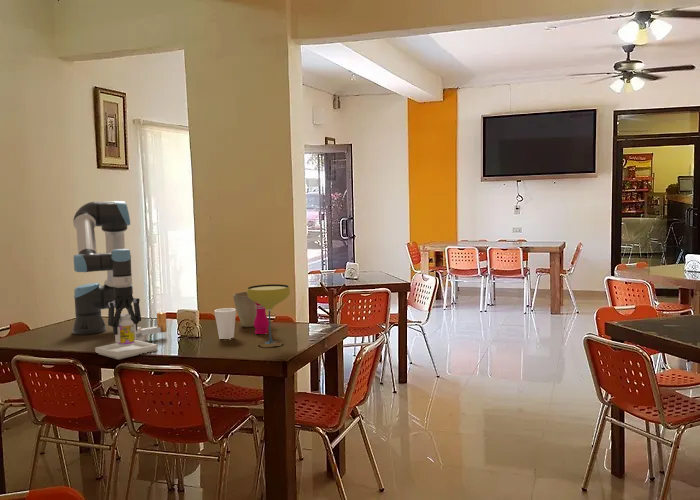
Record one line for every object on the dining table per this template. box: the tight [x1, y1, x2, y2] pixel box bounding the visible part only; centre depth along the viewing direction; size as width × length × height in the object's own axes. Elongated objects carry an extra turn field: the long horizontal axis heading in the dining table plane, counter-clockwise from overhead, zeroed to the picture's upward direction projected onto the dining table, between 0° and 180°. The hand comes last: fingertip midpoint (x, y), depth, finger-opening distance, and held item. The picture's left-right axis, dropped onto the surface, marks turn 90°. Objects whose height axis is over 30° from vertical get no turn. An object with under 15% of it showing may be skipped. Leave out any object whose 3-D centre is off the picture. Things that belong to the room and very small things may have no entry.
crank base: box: [134, 335, 149, 343], centre depth 294 cm, size 9×9×4 cm
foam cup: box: [214, 307, 237, 340], centre depth 297 cm, size 10×9×13 cm
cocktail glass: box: [246, 283, 291, 344], centre depth 281 cm, size 18×18×25 cm
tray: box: [94, 340, 158, 360], centre depth 276 cm, size 18×18×2 cm
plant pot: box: [232, 291, 257, 328], centre depth 326 cm, size 15×15×16 cm
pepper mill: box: [253, 302, 269, 335], centre depth 305 cm, size 7×7×20 cm
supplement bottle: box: [117, 313, 134, 347], centre depth 275 cm, size 7×7×13 cm
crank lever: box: [136, 312, 168, 337], centre depth 298 cm, size 16×4×8 cm, turn 130°
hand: (125, 340), depth 276 cm, fingers closed on supplement bottle, 7 cm apart
